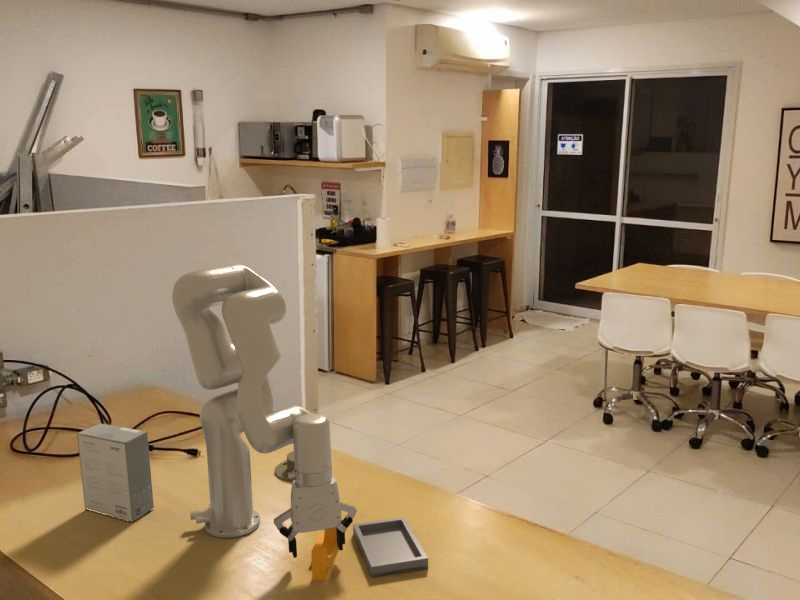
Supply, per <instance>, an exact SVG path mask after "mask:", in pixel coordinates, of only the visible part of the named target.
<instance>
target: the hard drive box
mask: <svg viewBox="0 0 800 600" xmlns="http://www.w3.org/2000/svg"><path fill="white" fill-rule="evenodd" d="M148 436H149V435H148V431H145V430H139V429H134V428H130V427H122V426H116V425H111V424H105V423H98V424H96V425H93V426H91V427H87V428H86V429H84V430H81V431H79V432H77V434H76V437H77V445H78V446H77V448H78V455H79V466H80V475H81V483H82V492H83V493H82V495H83V500H84V504H83V505H84V509H85V508H88V509H91V510H95V511H98V512H101V513H105V514H108V515H111V516H114V517H117V518H121V519H124V520H123V521H125V520H128V521H127V522H129V521H131V522H130V523H132V522H135V521H137V520H138V519H139V518H138V517H140V516H141V517H143V516H145V515H146V514H147V513H146V512H148V511H150V510H151V509H152V508H154V509H155V507H154V495H153V483H152V482H153V481H152V473H151V471H152V469H151V460H150V449H149V437H148ZM151 511H152V510H151ZM151 511H150V512H151ZM145 513H146V514H145ZM148 513H149V512H148ZM144 514H145V515H144ZM142 515H143V516H142ZM114 517H113V518H114ZM141 517H140V518H141ZM117 518H116V519H117ZM137 518H138V519H137ZM134 520H135V521H134Z"/></svg>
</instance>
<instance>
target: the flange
mask: <svg viewBox="0 0 800 600" xmlns="http://www.w3.org/2000/svg"><path fill="white" fill-rule="evenodd" d="M285 464H286V465H285ZM294 467H295V462H294V450H292V451H290V452H289V453H287V455H286V459H285V460H284V461H281V462H280V463H279V464H277V465H276V466H275V467H274V474H275V476H276V477H277V478H278V479H280V480H281V481H284V482H289V483H293V481H294V479H288V472H292V471H293V470H294Z"/></svg>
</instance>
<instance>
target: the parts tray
mask: <svg viewBox="0 0 800 600" xmlns="http://www.w3.org/2000/svg"><path fill="white" fill-rule="evenodd" d="M352 527H353V528H352V533H353V537H354V540H355V542H356V544H357V546H358V549H359V552H360V553H361V557H362V558H363V561H364V563H365V565H366V568H367V570H368V572H369V575H370V577H371V579H374V578H380V577H389V576H393V575H398V574H406V573H412V572H418V571H425V570H428V569H429V557H428V555H427V554H426V552H425V550H424V549H423V547H422V545H421V543H420V542H419V540H418V538H417V537H416V535H415V533H414V531H413V529H412V528H411V526H410V524H409V522H408V521H407V519H406V518H405V516H403V517H395V518H394V517H393V518H388V519H382V520H381V519H379V520H373V521H368V522H367V521H366V522H361V523H360V522H359V523H354V524H352Z"/></svg>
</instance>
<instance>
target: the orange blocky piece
mask: <svg viewBox="0 0 800 600" xmlns="http://www.w3.org/2000/svg"><path fill="white" fill-rule="evenodd" d="M336 528H337V527H335V528H331V529H325V530H324V532H323V533H324V534H319V535H318V536H317V539H316V540H315V542H314V545H313V547H312V549H311V576H312V577H311V578H312V580H316V581H317V580H318V581H326V579H327V577H328V574H329V572H330V570H331V568H332V565H333V564H334V562H335V559H336V557H337V555H338V553H339V551H340V550H339V548H338V545H337V535H336Z"/></svg>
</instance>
